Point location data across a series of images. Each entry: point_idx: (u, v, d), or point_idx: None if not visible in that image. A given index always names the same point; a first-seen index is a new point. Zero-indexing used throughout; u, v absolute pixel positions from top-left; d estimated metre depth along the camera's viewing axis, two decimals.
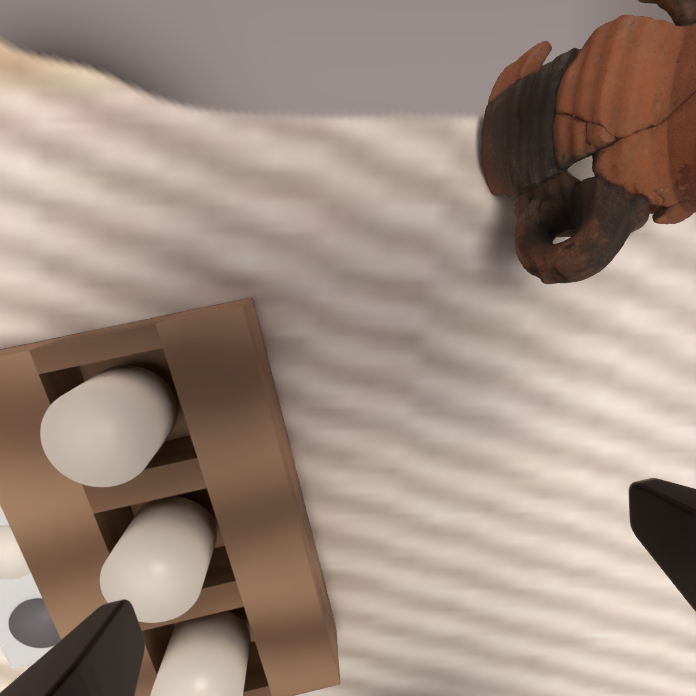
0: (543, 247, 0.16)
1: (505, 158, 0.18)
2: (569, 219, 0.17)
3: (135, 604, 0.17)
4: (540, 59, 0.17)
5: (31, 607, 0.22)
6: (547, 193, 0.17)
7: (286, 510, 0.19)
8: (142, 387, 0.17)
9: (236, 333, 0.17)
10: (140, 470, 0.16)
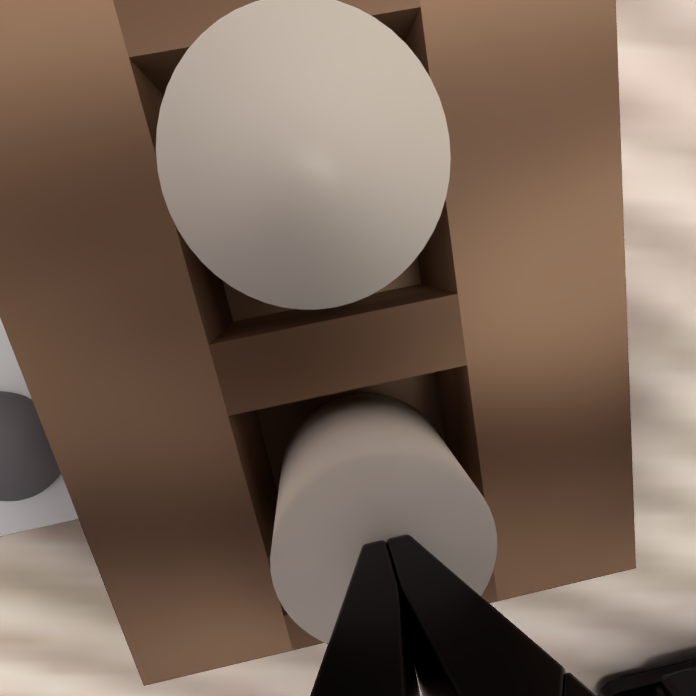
0: None
1: None
2: None
3: (255, 242, 0.06)
4: None
5: None
6: None
7: (599, 99, 0.08)
8: None
9: None
10: None
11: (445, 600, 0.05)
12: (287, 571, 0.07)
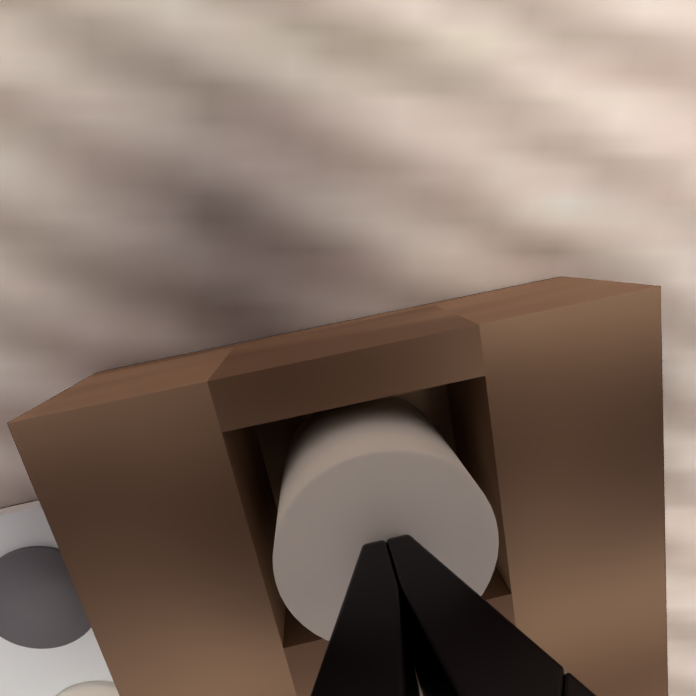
0: None
1: None
2: None
3: None
4: None
5: None
6: None
7: (652, 683, 0.10)
8: (441, 441, 0.08)
9: (637, 344, 0.08)
10: None
11: (445, 600, 0.05)
12: None
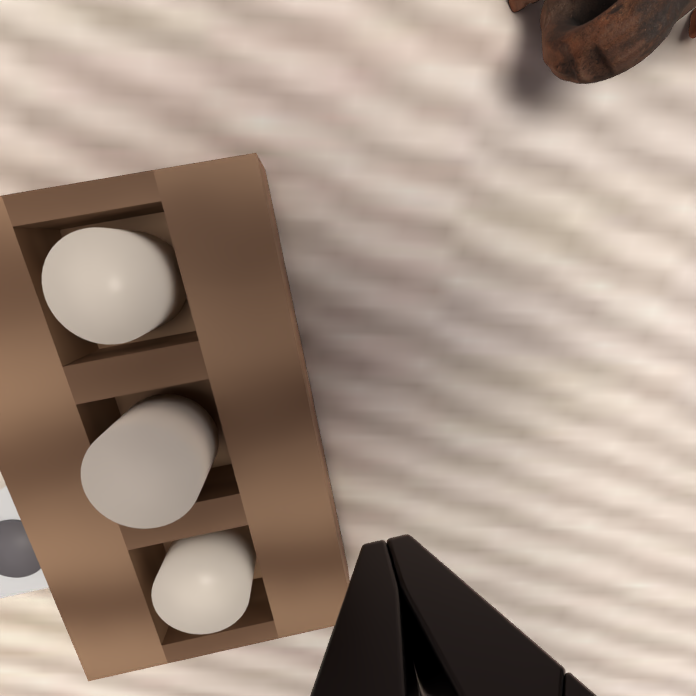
0: (580, 26, 0.13)
1: None
2: None
3: (122, 505, 0.15)
4: None
5: (5, 528, 0.20)
6: None
7: (300, 410, 0.17)
8: (152, 243, 0.16)
9: (248, 187, 0.15)
10: (148, 327, 0.15)
11: (445, 600, 0.05)
12: (159, 600, 0.18)
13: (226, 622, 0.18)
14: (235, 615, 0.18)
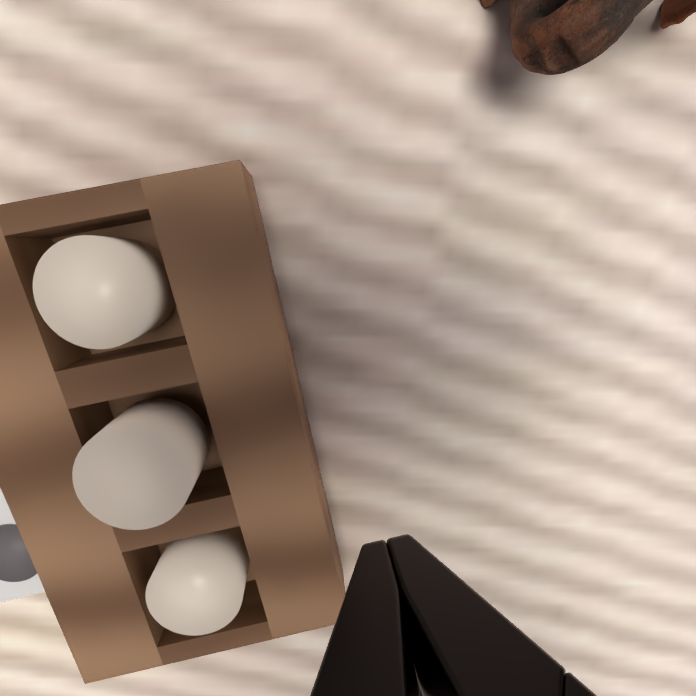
0: (544, 17, 0.14)
1: None
2: None
3: (114, 507, 0.15)
4: None
5: (2, 533, 0.20)
6: None
7: (288, 411, 0.17)
8: (140, 250, 0.16)
9: (232, 193, 0.15)
10: (138, 332, 0.15)
11: (445, 600, 0.05)
12: (153, 601, 0.18)
13: (220, 623, 0.18)
14: (229, 616, 0.18)
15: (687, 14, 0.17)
